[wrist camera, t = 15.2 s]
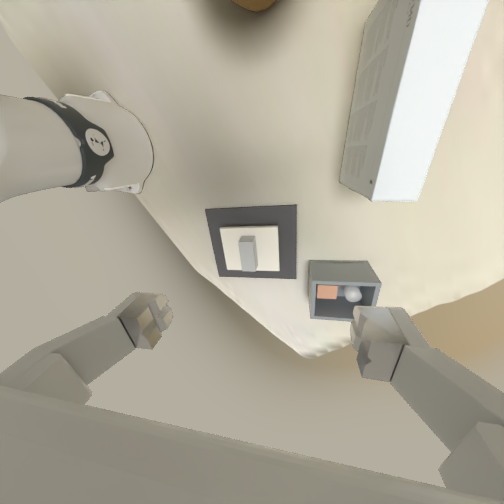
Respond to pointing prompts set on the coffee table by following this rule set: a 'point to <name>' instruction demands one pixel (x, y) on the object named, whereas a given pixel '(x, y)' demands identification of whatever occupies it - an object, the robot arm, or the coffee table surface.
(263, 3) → the plant pot
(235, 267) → the cream lid
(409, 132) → the skincare box
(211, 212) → the black rubber mat
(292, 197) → the coffee table surface
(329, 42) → the coffee table surface
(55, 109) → the robot arm
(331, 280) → the grey storage box
